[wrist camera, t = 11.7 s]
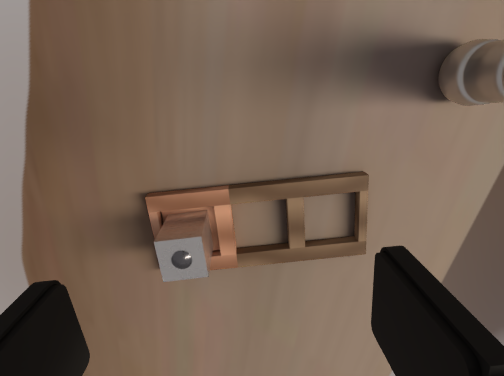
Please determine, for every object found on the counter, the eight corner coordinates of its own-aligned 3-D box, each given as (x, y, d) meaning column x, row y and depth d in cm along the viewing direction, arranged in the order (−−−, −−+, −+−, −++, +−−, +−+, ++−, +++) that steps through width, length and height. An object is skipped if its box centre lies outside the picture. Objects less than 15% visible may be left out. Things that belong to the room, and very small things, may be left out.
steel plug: (168, 214, 38) (153, 242, 31) (207, 210, 38) (201, 236, 31) (175, 248, 40) (163, 282, 33) (213, 244, 40) (208, 277, 33)
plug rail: (148, 193, 37) (144, 197, 36) (363, 171, 38) (368, 174, 36) (164, 268, 41) (162, 275, 39) (361, 248, 41) (365, 254, 40)
